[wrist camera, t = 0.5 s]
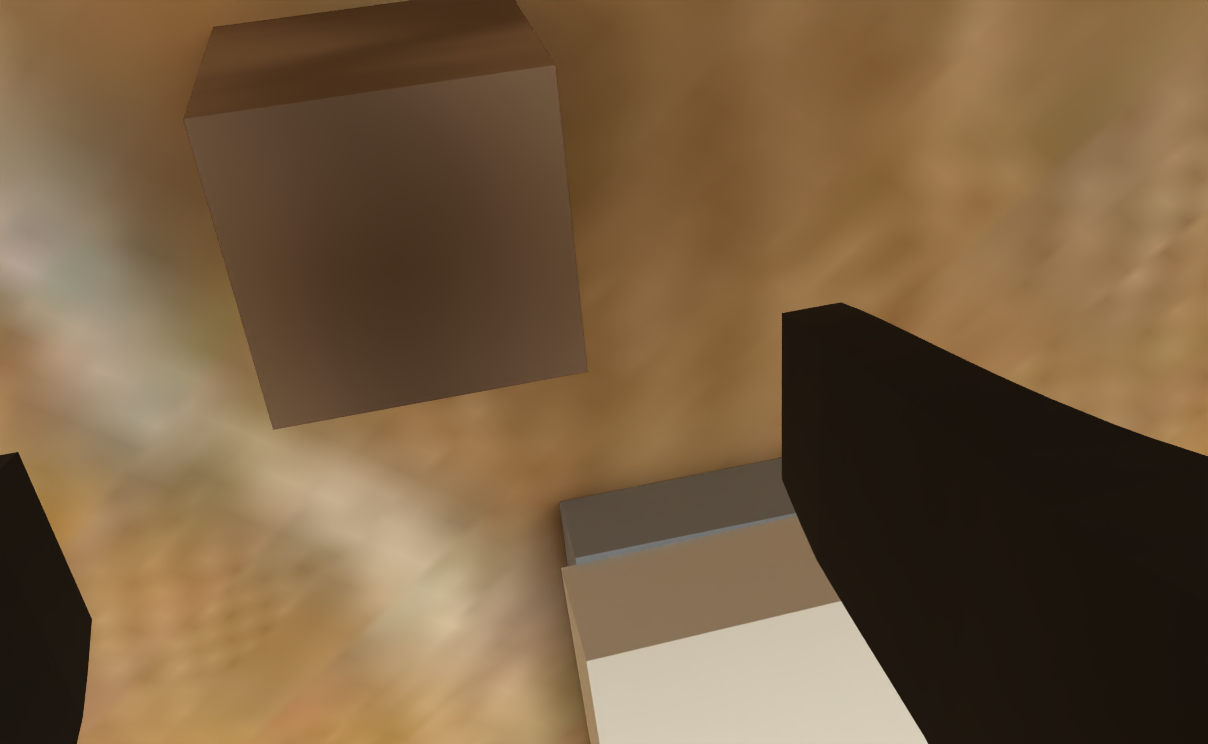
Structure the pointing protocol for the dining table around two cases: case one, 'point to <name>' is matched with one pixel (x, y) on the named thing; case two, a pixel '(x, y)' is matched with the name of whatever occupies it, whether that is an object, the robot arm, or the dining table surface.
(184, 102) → the dining table surface
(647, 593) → the tower top block
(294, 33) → the walnut cube
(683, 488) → the tower base block
